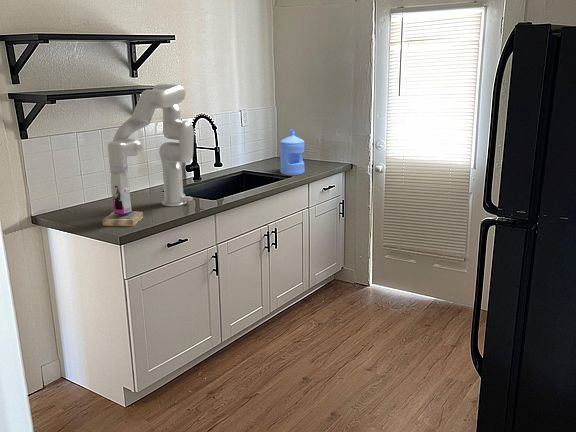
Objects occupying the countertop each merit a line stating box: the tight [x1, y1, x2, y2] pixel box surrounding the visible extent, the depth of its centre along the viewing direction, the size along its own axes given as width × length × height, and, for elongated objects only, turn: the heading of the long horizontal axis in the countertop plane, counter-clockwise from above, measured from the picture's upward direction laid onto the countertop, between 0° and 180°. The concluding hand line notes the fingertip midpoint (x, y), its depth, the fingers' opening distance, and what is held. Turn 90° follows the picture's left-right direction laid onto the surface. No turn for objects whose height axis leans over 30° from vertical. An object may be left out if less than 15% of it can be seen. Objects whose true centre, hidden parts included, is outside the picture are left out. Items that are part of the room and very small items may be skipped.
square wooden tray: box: [101, 211, 144, 227], centre depth 256 cm, size 14×14×3 cm
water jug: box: [279, 128, 306, 176], centre depth 355 cm, size 16×16×28 cm
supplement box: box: [111, 188, 133, 215], centre depth 254 cm, size 6×6×12 cm
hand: (122, 206), depth 255 cm, fingers closed on supplement box, 7 cm apart
